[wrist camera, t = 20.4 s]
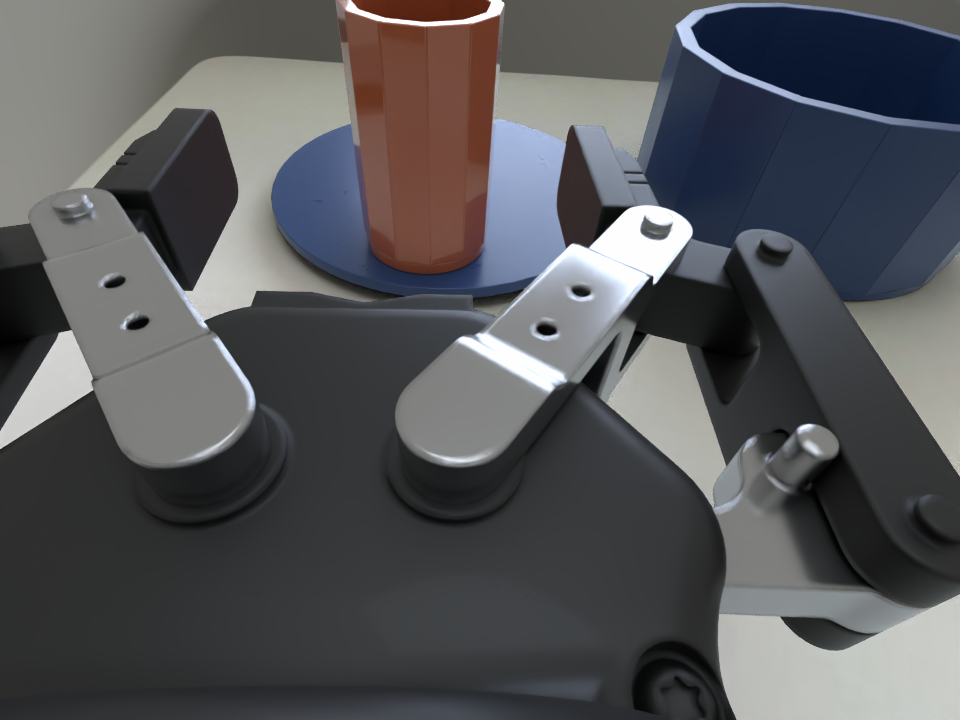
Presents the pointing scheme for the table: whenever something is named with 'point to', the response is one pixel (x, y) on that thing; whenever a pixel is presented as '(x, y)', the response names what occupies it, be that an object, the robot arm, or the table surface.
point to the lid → (498, 269)
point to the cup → (423, 125)
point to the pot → (814, 138)
